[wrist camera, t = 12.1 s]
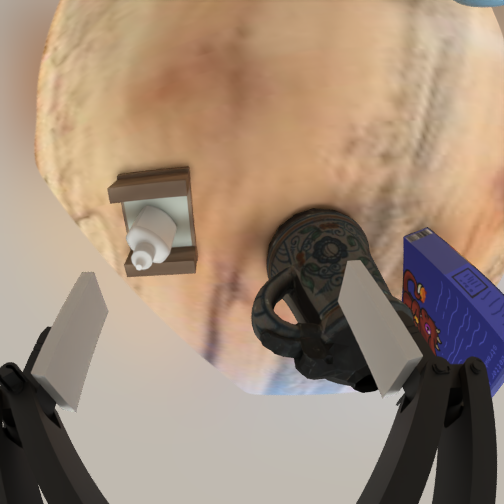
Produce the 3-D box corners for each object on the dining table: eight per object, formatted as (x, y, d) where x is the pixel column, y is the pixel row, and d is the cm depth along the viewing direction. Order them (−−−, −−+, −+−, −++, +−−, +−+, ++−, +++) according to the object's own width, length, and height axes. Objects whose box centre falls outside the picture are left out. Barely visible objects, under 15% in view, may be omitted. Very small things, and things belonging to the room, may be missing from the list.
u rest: (119, 174, 35) (106, 184, 30) (189, 166, 36) (185, 175, 31) (135, 261, 42) (128, 279, 37) (197, 257, 43) (196, 276, 38)
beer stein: (362, 276, 49) (433, 383, 27) (261, 309, 49) (290, 440, 28) (354, 192, 40) (466, 290, 19) (231, 229, 41) (252, 375, 20)
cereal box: (420, 307, 56) (488, 404, 30) (400, 317, 57) (465, 420, 31) (427, 227, 45) (537, 331, 19) (403, 236, 46) (513, 354, 20)
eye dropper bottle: (163, 197, 36) (143, 237, 26) (180, 232, 39) (169, 282, 29) (136, 208, 36) (108, 252, 26) (153, 242, 39) (135, 293, 29)
